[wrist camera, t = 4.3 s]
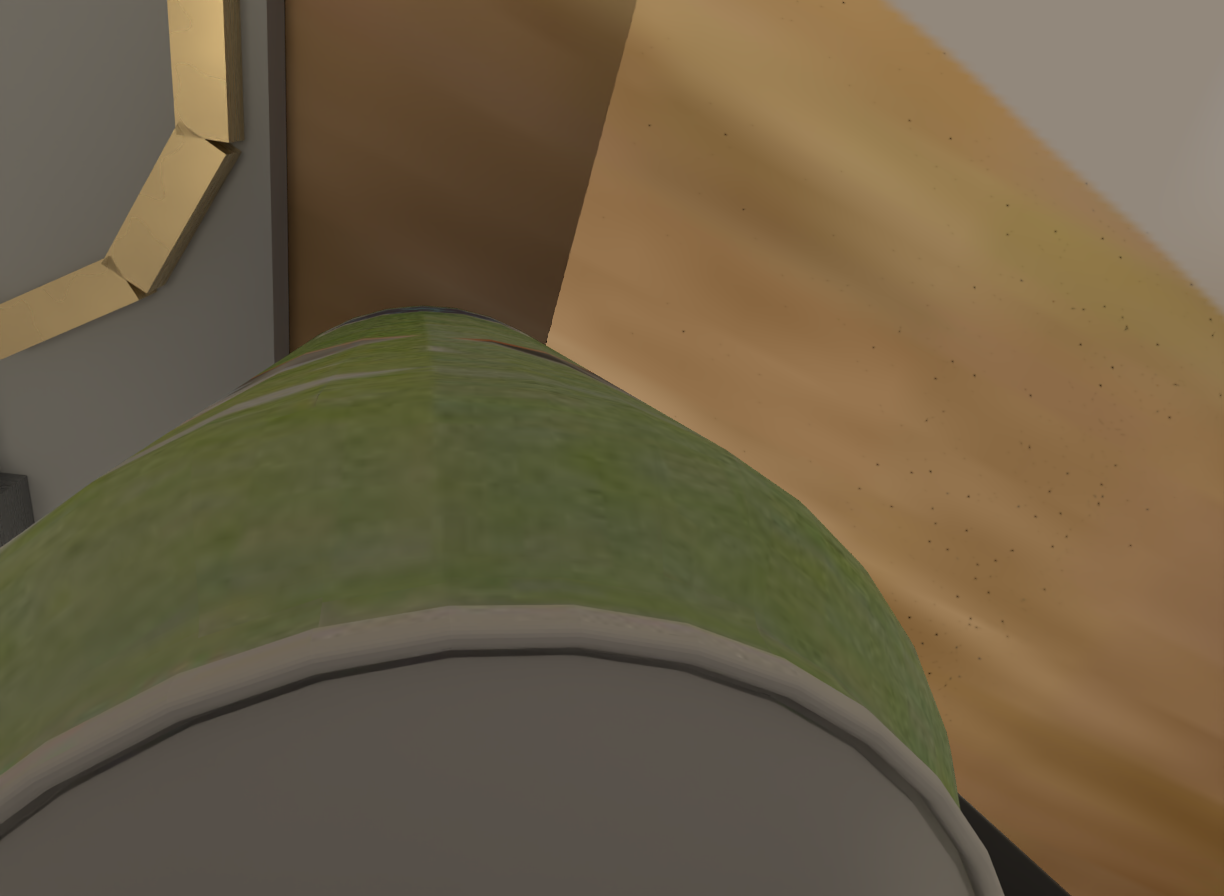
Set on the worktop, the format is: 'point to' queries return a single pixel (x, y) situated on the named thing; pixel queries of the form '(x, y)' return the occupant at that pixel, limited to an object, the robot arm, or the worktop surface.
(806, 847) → the beverage can
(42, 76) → the base
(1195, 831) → the worktop surface
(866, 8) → the worktop surface
